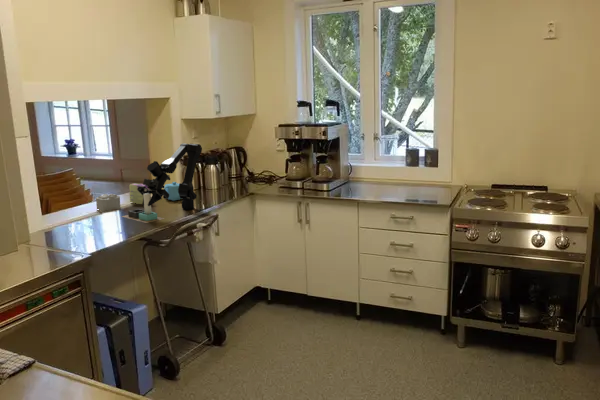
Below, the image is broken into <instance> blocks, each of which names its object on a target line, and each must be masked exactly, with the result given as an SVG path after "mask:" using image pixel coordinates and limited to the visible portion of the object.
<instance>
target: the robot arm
mask: <svg viewBox="0 0 600 400" xmlns="http://www.w3.org/2000/svg"><path fill="white" fill-rule="evenodd" d="M202 151H203V147H202V145H201V144H200V143H181V144H180V145H179V147H178V148H177V150H175V152H174V153H173V154H172V155H171V156H170V158H168V159H166V160H164V161H162V162H161V164H159V162H158V161H157V160H154V161H153V162H151V163H149V164H148V165H147V167H146V169H147V171H148V172H149V173H150V174H151V175H152V176H153V177H154V178H152V179H149V178H144V180H143V183H142V184H143V185H146V186H147V188H149V190H148V189H147V188H146V187H143V186H139V187H138V189H137V190H138V191H139V192H140V193H141V194H142V195H143V203H142V204H141V205H142V206H144V194H145V193H150V194H151V195H152V196H151V199H150V201H149V203H148V206H150V205H151V206H152V205H153V204H155V203H156V202H159V201H160V200H162V199H164V200H167V199H168V198H169V193H168V192H167V191H166V190H165V189H164V187H165V185H166V182H167V181H171V176H170V174H173V173H175V171H176V169H177V165H178V163H179V162H180V161H181V160H182V158H183V157H184V156H185V155H186V154H187V158H188V159H187V163H186V166H185V167H186V168H185V173H184V178H183V181H182V182H181V183H178V184H179V188H178V193H179V196H180V198H182V199H183V200H181V208H182V210H183V211H188V210H189V211H191V210H192V211H193V210H195V206H194V205H195V203H194V202H195V200H196V199H197V197H198V196H197V194H196V192H195V191H194V185H193V179H194V175H195V169H196V165H197V161H198V159H199V157H201V155H202ZM168 174H169V175H168Z"/></svg>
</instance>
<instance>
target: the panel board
mask: <svg viewBox="0 0 600 400" xmlns="http://www.w3.org/2000/svg"><path fill="white" fill-rule="evenodd" d="M127 213H128V214H126V215H122V216H120V217H121V218H126V219H129V220H134V221H137V222H142V223H145V224H148V223H153V222H157V221H161V220H164V219H165V218H164V217H159V216H157V219H154V220H149V221H145V220H141V219H139V213H144V209H142V208H141V209H140V208H136V209H132V210H131V209H130V210H127Z"/></svg>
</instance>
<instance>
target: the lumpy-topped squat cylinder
mask: <svg viewBox="0 0 600 400" xmlns="http://www.w3.org/2000/svg"><path fill="white" fill-rule="evenodd" d="M95 200H96V210H97V209H99V210H101V211H102V212H105V211H110V210H120V209H121V196H120V195H117V194H114V193H109V194H107V193H104V194H102V195H99V196H97V197H96V198H95ZM101 211H100V212H101Z"/></svg>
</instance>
